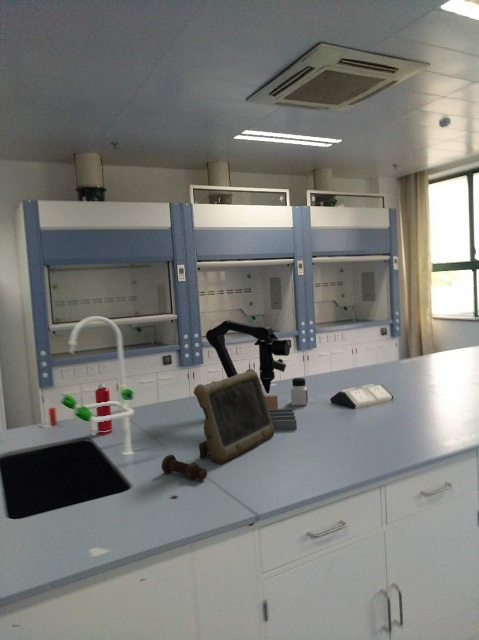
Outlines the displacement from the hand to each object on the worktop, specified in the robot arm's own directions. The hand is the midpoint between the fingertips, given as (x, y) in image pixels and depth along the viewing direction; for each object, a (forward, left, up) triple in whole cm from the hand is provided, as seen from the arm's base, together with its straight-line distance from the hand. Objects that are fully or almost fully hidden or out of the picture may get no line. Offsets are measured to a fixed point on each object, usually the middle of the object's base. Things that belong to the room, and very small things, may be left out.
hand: (267, 390), depth 195 cm
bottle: (-67, -17, -10) cm, 70 cm away
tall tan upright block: (0, 0, -10) cm, 10 cm away
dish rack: (+3, -15, -10) cm, 19 cm away
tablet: (-12, -40, -11) cm, 43 cm away
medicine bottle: (+15, +15, -10) cm, 24 cm away
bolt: (-27, -63, -11) cm, 69 cm away
